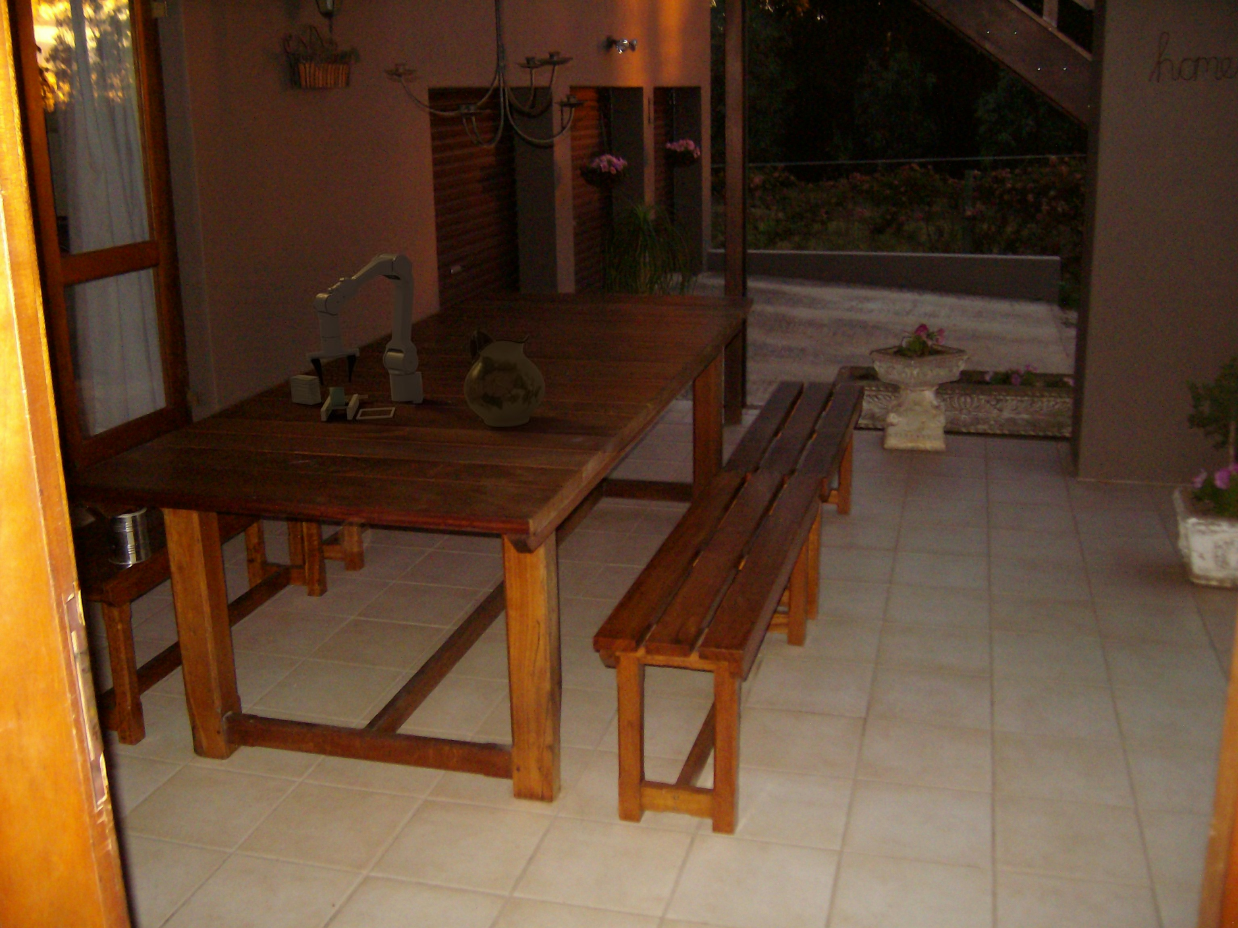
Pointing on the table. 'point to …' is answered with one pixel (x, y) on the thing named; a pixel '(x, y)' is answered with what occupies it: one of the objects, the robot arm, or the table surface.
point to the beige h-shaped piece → (350, 409)
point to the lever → (348, 401)
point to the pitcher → (502, 381)
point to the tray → (375, 416)
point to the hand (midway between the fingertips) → (335, 383)
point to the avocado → (337, 396)
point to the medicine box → (305, 389)
